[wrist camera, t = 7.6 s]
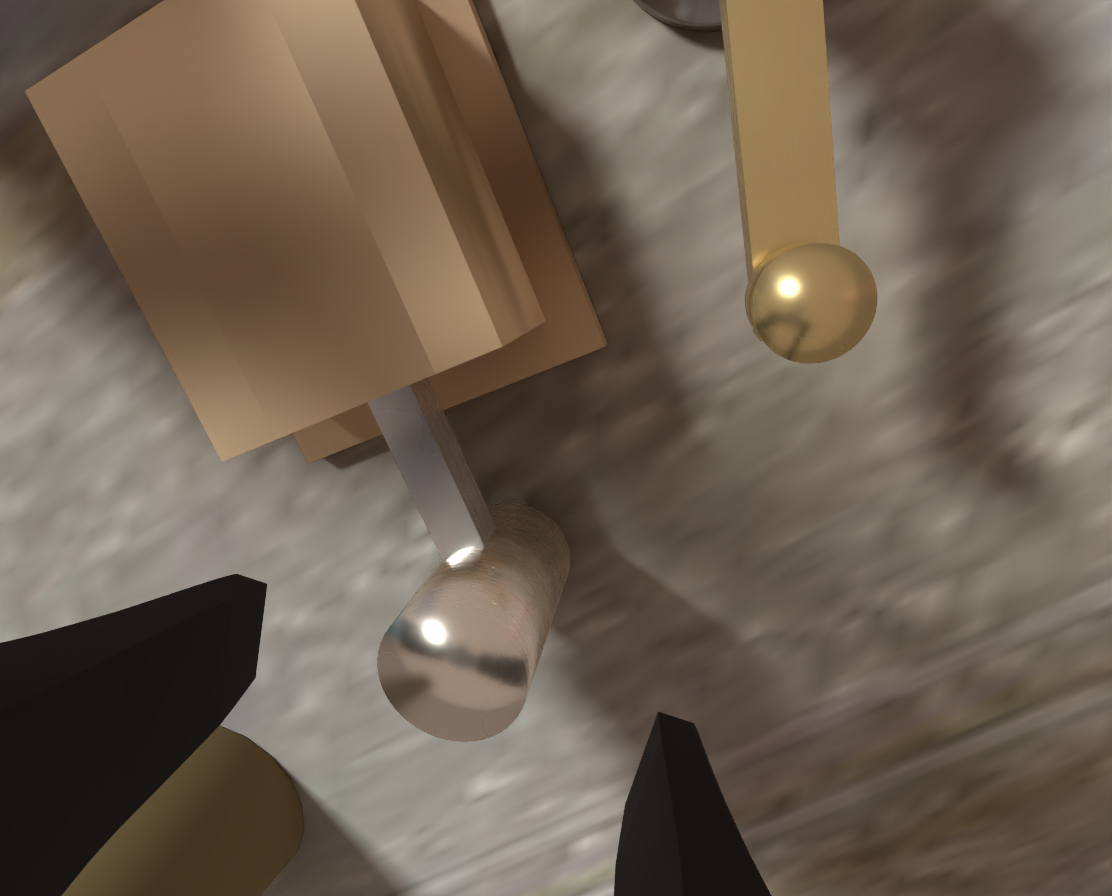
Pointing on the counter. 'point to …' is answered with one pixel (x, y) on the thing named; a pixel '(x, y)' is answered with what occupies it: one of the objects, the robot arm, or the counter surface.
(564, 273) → the block
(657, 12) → the lever post
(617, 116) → the counter surface
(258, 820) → the olive tall rounded piece
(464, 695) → the hook rod
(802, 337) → the lever
